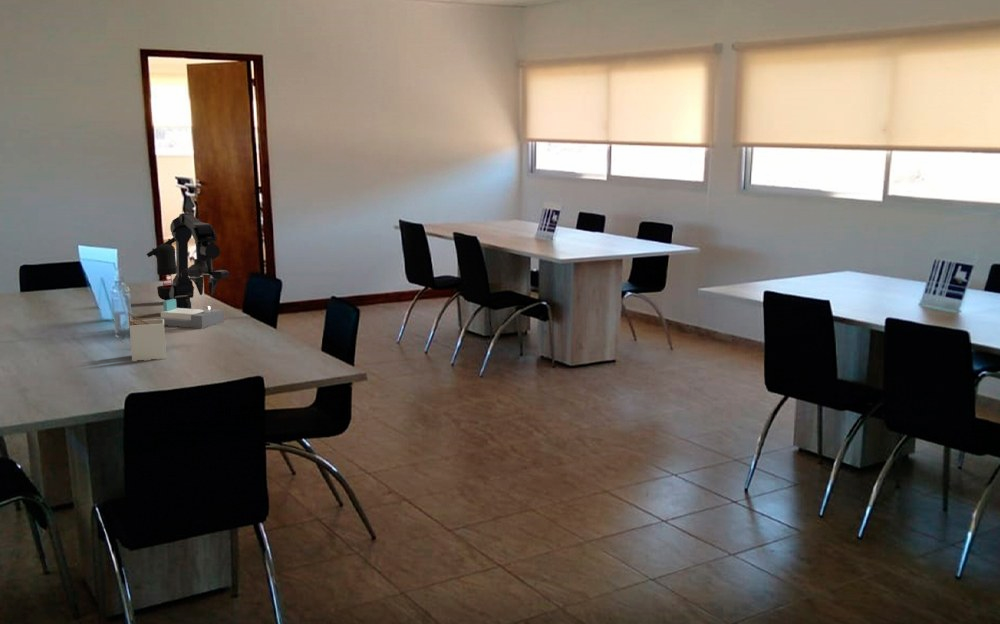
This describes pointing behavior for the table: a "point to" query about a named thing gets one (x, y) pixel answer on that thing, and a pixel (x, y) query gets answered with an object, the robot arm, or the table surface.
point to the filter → (165, 265)
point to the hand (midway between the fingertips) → (206, 295)
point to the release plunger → (206, 309)
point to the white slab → (177, 311)
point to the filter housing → (197, 319)
